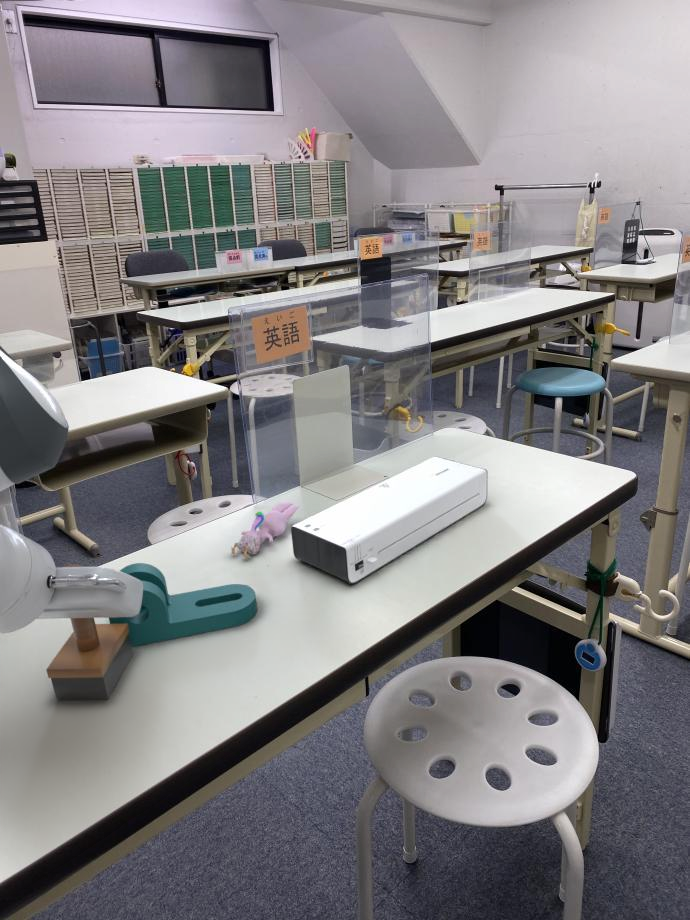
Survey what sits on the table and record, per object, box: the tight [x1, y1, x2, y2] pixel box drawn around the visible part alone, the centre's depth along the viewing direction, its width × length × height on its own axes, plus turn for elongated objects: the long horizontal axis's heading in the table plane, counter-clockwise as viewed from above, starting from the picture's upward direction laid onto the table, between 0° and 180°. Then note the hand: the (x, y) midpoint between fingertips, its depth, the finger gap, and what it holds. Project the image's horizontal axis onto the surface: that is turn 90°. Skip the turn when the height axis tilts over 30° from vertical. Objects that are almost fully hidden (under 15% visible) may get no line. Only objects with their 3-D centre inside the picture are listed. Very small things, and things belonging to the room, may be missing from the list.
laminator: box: [290, 455, 489, 585], centre depth 107 cm, size 34×12×6 cm, turn 135°
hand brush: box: [45, 563, 134, 701], centre depth 78 cm, size 8×6×14 cm
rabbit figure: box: [230, 502, 301, 562], centre depth 108 cm, size 6×6×15 cm
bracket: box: [108, 562, 258, 648], centre depth 88 cm, size 18×7×8 cm, turn 104°
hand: (71, 611), depth 75 cm, fingers open, 8 cm apart
